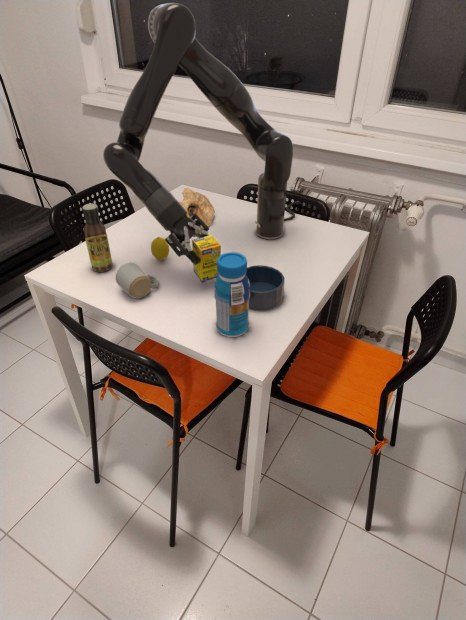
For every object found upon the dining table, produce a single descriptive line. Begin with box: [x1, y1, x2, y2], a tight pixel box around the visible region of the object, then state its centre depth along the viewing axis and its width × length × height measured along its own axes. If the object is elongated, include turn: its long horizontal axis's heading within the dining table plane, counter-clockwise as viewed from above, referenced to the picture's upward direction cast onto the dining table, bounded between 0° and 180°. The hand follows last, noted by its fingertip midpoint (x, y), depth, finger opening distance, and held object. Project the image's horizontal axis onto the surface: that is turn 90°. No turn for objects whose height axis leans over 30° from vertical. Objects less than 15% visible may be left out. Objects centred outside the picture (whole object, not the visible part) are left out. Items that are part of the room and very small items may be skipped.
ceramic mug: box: [115, 262, 160, 299], centre depth 110 cm, size 11×8×8 cm
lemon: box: [150, 236, 170, 261], centre depth 123 cm, size 6×6×8 cm
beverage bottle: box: [213, 251, 250, 338], centre depth 94 cm, size 8×8×20 cm
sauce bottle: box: [82, 203, 113, 273], centre depth 116 cm, size 6×6×20 cm
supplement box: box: [191, 234, 222, 284], centre depth 109 cm, size 6×6×11 cm
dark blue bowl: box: [246, 264, 286, 312], centre depth 108 cm, size 13×13×6 cm
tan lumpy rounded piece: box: [178, 187, 216, 229], centre depth 145 cm, size 18×14×8 cm
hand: (206, 255), depth 109 cm, fingers closed on supplement box, 8 cm apart
